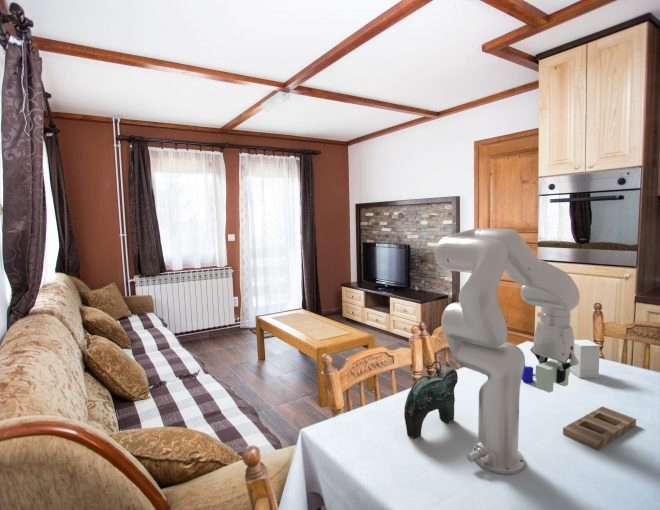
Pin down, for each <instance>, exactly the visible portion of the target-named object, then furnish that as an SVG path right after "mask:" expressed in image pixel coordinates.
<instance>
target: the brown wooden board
mask: <svg viewBox="0 0 660 510" xmlns="http://www.w3.org/2000/svg"><path fill="white" fill-rule="evenodd" d="M636 426H637V418H634V417H632V416H629V415H627V414H625V413H621V412H618V411H616V410H614V409H610V408H607V407H605V406H601V407H598V408H597V409H595V410H592V411H591V412H589V413H588V414H587V413H586V415H584V416H582V417H581V418H579V419H576V420H574V421H573V422H571V423H569V424H567V425H566V426H563V428H562V435H563V436H565V437H568V438H569V439H572V440H574V441H577V442H578V443H581V444H583V445H586V446H587V447H589V448H591V449H594V450H595V451H599V450H601V449H602V448H604V447H605V446H607V445H608V444H610V443H612V442H613V441H615V440H616V439H618V438H620V437H621V436H622V435H624V434H625V433H626V432H629V431H630V430H631V429H633V428H634V427H636Z"/></svg>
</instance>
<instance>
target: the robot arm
mask: <svg viewBox="0 0 660 510" xmlns="http://www.w3.org/2000/svg"><path fill="white" fill-rule="evenodd" d="M434 259H435V262H436V263H437V265H438V266H439V267H440V268H441V269H443V270H446V271H450V272H451V271H452V272H460V273H469V274H471V275H469V277H468V279H467V281H466V282H465V283H464V284H463V286H462V287H461V289H460V291H459V293H458V301H455V302H452V303H450V304H448V305H447V306H446V307H445V308H444V310H443V312H442V315H441V323H440V324H441V330H442V334H443V335H444V338H445V341H446V343H447V345H448V347H449V350H450V351H451V352H450V353H451V354H452V356H453V358H454V360H455V361H456V363H457V364H458V365H460V366H461V367H463V368H466V369H468V370H471V371H474V372H477V373H480V374H482V375H485V376H486V377H487V380H486V381H484V383H482V385H480V387H479V390H478V416H477V417H478V422H477V423H478V426H477V428H478V429H477V430H478V434H477V439H478V440H477V442H476V443H475V444H473V446H472V448H471V452H469V453H468V454H466V459H467V461H468V462H469V463H473V462H476V464H477V465H479V467H482V468H483V469H484V470H487V471H489V472H492V473H494V474H495V473H496V474H500V475H514V474H517V473H519V472H522V471H523V469H524V467H525V466H526V465H525V462H526V461H525V457H524V455H523V454H522V453H521V452H520V451H519V435H520V434H519V432H520V431H519V426H520V396H521V395H520V394H521V393H520V392H521V383H522V379H521V378H522V374H523V370H524V365H525V366H526V358H525V353H524V352H523V351H522V349H521V348H520V347H518V346H517V345H516V344H514V343H511V342H509V341H507V340H508V335H509V331H508V327H507V322H506V319H505V316H504V313H503V309H502V308H501V305H500V302H499V298H498V288H499V285H500V282H501V279H502V278H503V274H504V273H505V274H506V275H507V277H508V278H509V279H510V280H511V281H512V282H515V283H517V284H520V285H522V286H521V287H520V297H521V299H522V300H523V302H525V303H526V304H527V305H528V304H529V305H531V306H535V307H540V310H541V311H540V312H537V314H536V315H537V317H538V318H540V319H539V320H540V321H538V322H537V324H536V328H535V330H534V331H535V332H534V336H533V337H534V339H533V345H532V346H531V348H530V352H531V353H532V354H533V355H534V356H535V358H536V359H537V360H538V364H541V363H544V362H547V361H549V359H551V360H553V359H554V360H557V361H558V366H559V370H557V379H556V382H557V383H561V382H564V380H565V378H566V369H568V368H569V367H571V366H574V365H577V364H579V361H578V360H577V358H576V356H575V354H574V340H575V336H574V332H573V331H574V330H573V327H572V326H571V311H572V310H575V308H577V306H578V305H579V303H580V300H581V299H580V296H581V295H580V291H579V288H578V286H577V284H576V282H575V281H574V279H573V278H572V277H571V276H570V274H568V273H567V272H566V271H564V270H562V269H560V268H559V267H557V266H555V265H553V264H551V263H549V262H547V261H545V260H542V259H541V258H539V257H537V255H536V254H535V253H534V251H533V250H532V249H531V247H530V246H529V245H528V243H527V242H526V240H525V239H524V238H523V237H522V235H521V234H520V233H519V232H517V231H516V230H515V229H511V228H500V227H499V228H498V227H496V228H495V227H492V228H491V227H489V228H487V227H480V228H479V227H478V228H471V229H467V230H463V231H461V232H456V233H452V234H449V235H446V236H444V237H442V238H441V239H440V240H439V241H438V242H437V243H436V246H435V248H434ZM569 359H570V360H571V362H569ZM567 362H568V363H567Z"/></svg>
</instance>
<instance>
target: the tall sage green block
mask: <svg viewBox="0 0 660 510" xmlns="http://www.w3.org/2000/svg"><path fill="white" fill-rule="evenodd" d="M568 362H569V361H567V363H568ZM557 370H559V366H558V361H557V360H554V359H551V360H548V361H547V362H544V363H541V364H539V363H538V364H535V375H534V377H535V382H536V383H535V388H536V389H538V390H541V391H544V392H545V393H546V392H547V393H551V392H554V384H556V385H559V386H561V387H566V386H567V387H568V386H569V376H570V373H571V372H570V367H569V368H568V369H566V378H565V380H564V382H561V383H557V382H556V379H557Z"/></svg>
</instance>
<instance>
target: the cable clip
mask: <svg viewBox="0 0 660 510" xmlns="http://www.w3.org/2000/svg"><path fill="white" fill-rule="evenodd" d="M521 381H522V382H523V383H524V384H533V383H534V367H533V366H527V365H526V364H525V365H524V370H523V374H522V378H521Z"/></svg>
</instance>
